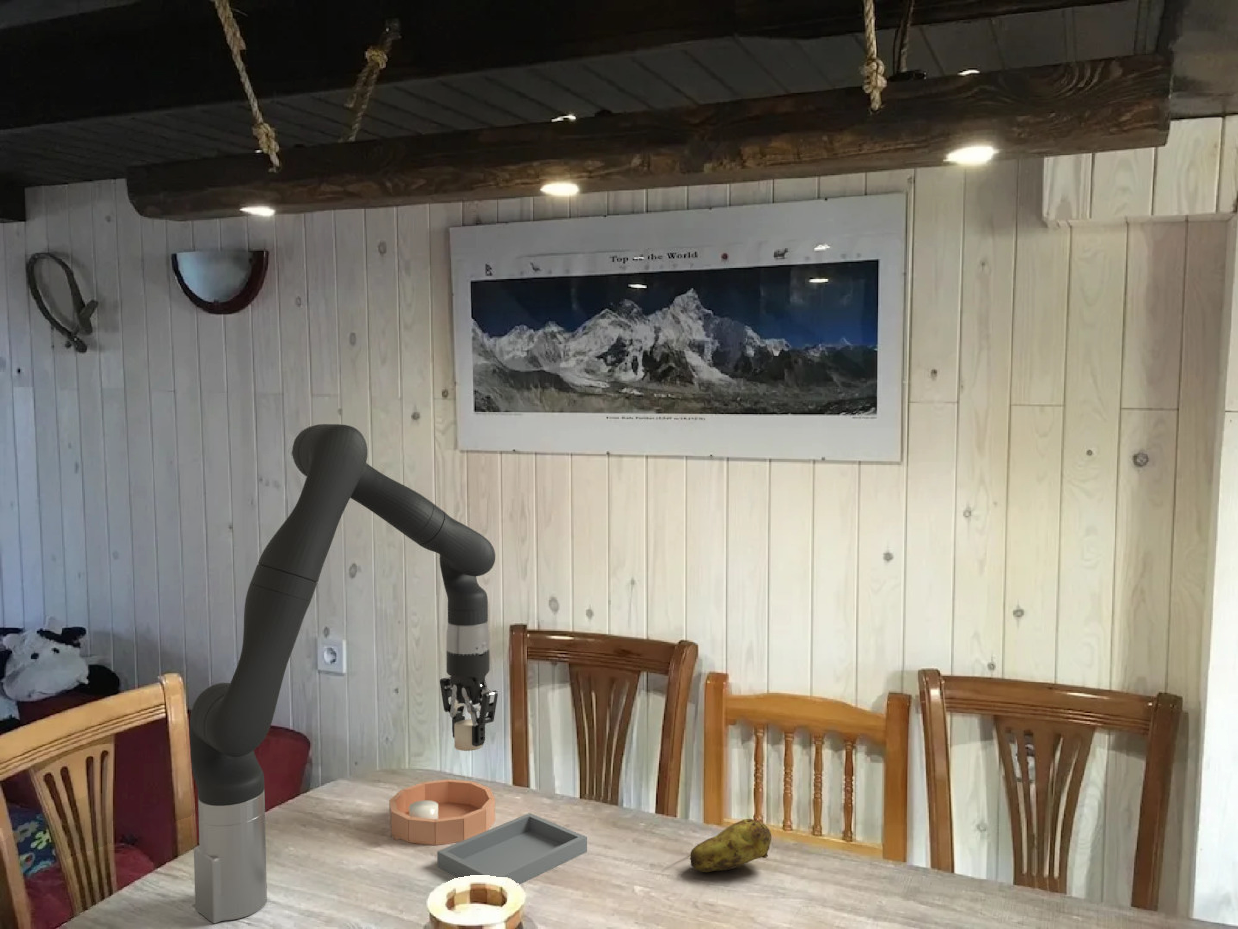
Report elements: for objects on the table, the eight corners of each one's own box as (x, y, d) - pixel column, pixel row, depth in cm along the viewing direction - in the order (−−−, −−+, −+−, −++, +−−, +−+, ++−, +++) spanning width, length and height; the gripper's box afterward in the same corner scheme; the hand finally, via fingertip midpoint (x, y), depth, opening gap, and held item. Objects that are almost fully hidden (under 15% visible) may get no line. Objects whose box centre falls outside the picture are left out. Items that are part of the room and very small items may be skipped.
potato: (693, 855, 166) (693, 808, 165) (771, 860, 164) (771, 813, 163) (688, 878, 158) (689, 829, 157) (770, 885, 156) (771, 835, 155)
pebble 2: (466, 753, 173) (466, 730, 173) (448, 746, 176) (448, 723, 176) (488, 745, 177) (488, 723, 176) (471, 739, 180) (471, 717, 180)
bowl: (432, 860, 164) (432, 831, 163) (370, 828, 176) (369, 800, 176) (514, 825, 177) (514, 798, 177) (451, 798, 189) (451, 772, 189)
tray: (494, 902, 150) (494, 880, 150) (437, 872, 160) (437, 851, 159) (587, 857, 165) (587, 837, 165) (529, 832, 174) (529, 813, 174)
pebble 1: (420, 837, 170) (420, 814, 170) (403, 828, 173) (403, 806, 173) (444, 828, 174) (443, 805, 173) (426, 820, 177) (426, 798, 177)
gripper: (426, 643, 178) (427, 737, 179) (476, 658, 168) (477, 757, 169) (460, 636, 183) (460, 727, 184) (510, 650, 173) (511, 746, 174)
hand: (468, 741), depth 176 cm, fingers closed on pebble 2, 5 cm apart
